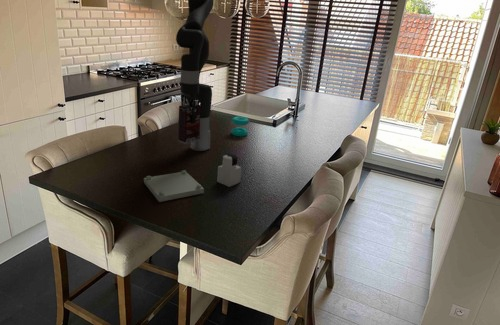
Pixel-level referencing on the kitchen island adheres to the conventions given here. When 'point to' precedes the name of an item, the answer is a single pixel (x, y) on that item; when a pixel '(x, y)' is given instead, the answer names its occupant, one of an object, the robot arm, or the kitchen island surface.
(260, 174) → the kitchen island surface
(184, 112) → the supplement box
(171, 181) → the stud plate
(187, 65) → the robot arm
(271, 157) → the kitchen island surface
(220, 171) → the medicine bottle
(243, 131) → the donuts
